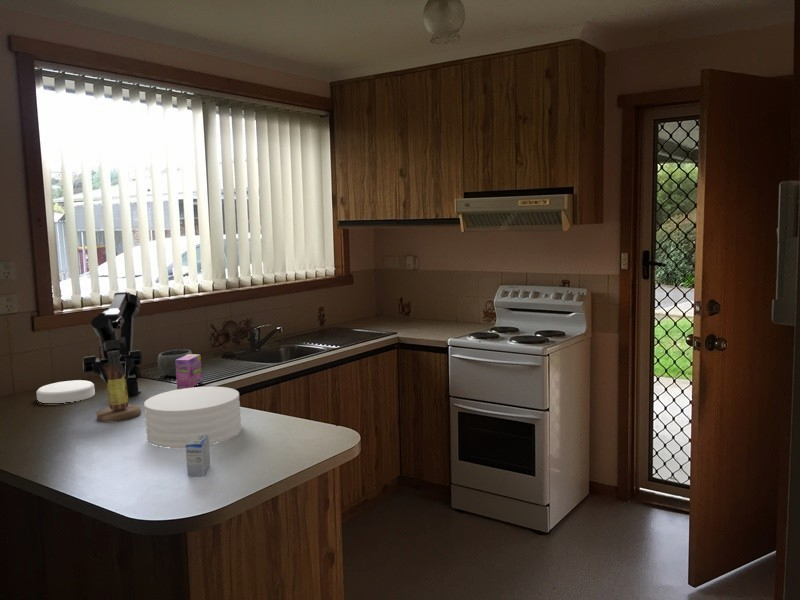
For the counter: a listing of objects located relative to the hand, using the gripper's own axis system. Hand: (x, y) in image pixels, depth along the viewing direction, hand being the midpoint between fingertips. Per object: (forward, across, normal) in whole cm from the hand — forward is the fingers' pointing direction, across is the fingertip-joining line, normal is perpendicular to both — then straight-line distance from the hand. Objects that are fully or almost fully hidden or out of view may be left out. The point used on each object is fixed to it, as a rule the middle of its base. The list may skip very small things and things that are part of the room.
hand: (116, 381), depth 236 cm
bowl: (-28, +30, +47) cm, 62 cm away
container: (-20, -14, +39) cm, 46 cm away
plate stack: (+33, +17, -16) cm, 41 cm away
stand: (+8, 0, +10) cm, 12 cm away
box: (-12, +30, +30) cm, 44 cm away
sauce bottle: (+6, 0, +8) cm, 10 cm away
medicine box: (+57, +11, -40) cm, 70 cm away
